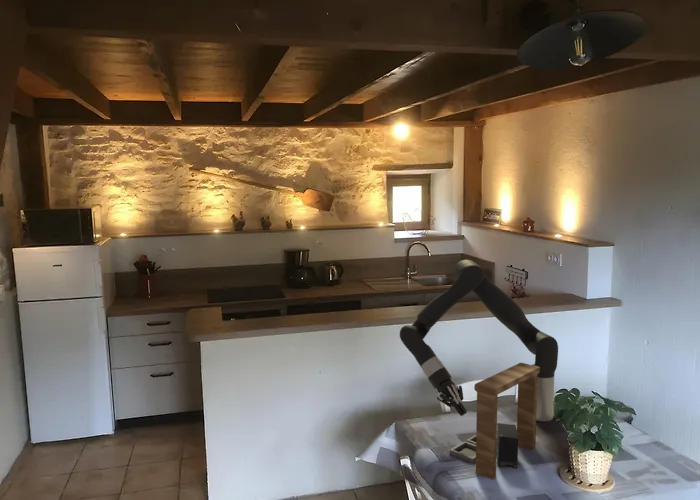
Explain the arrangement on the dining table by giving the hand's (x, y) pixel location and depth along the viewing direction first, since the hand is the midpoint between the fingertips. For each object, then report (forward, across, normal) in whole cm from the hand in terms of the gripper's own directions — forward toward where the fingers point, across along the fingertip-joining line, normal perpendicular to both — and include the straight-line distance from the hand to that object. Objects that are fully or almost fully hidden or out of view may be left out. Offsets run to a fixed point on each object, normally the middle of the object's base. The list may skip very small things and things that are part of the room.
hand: (464, 414), depth 194 cm
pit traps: (+11, 0, +4) cm, 12 cm away
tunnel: (+20, 0, -4) cm, 20 cm away
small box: (+20, 0, -4) cm, 20 cm away
